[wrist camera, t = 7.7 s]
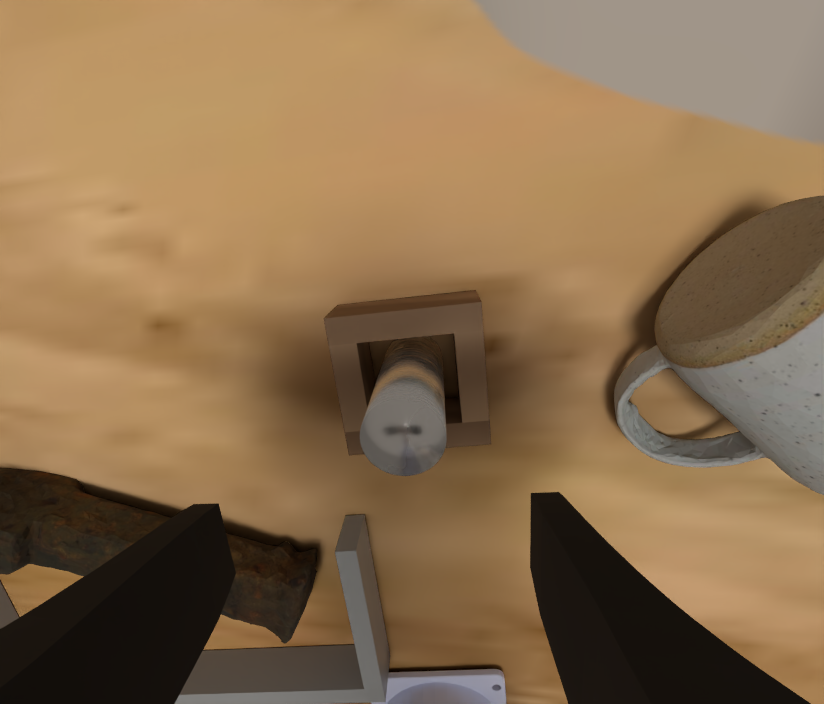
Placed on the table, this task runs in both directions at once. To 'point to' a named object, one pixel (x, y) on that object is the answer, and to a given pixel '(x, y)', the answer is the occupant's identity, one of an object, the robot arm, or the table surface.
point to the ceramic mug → (745, 346)
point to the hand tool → (123, 526)
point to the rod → (407, 409)
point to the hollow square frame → (407, 320)
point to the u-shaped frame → (300, 649)
